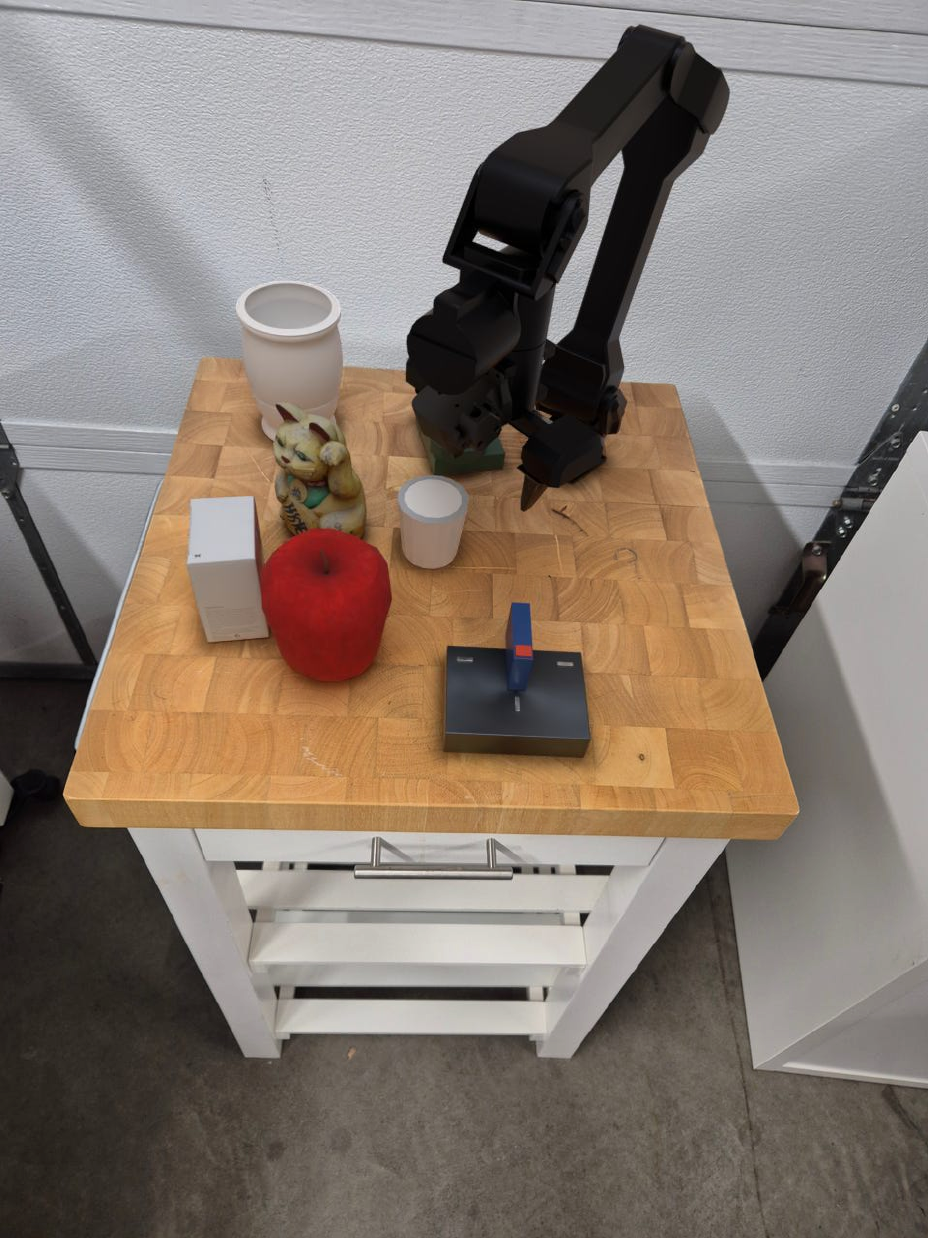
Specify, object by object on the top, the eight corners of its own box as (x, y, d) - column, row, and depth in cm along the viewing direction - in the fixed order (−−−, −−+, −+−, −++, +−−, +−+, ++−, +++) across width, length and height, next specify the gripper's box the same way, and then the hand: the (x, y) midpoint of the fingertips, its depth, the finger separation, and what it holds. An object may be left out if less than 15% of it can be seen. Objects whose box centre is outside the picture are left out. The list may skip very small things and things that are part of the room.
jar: (363, 421, 95) (361, 302, 84) (306, 468, 89) (296, 346, 78) (292, 387, 98) (281, 268, 87) (233, 429, 92) (212, 307, 81)
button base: (413, 420, 96) (414, 392, 93) (480, 414, 98) (483, 386, 95) (433, 482, 90) (435, 454, 86) (505, 475, 91) (509, 447, 88)
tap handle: (505, 634, 73) (511, 600, 69) (522, 635, 73) (530, 601, 69) (507, 689, 69) (514, 656, 66) (525, 690, 69) (533, 657, 66)
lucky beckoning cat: (264, 530, 83) (245, 407, 71) (316, 487, 88) (306, 365, 76) (339, 572, 80) (332, 451, 69) (389, 525, 85) (390, 405, 73)
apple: (272, 708, 70) (254, 606, 59) (271, 616, 76) (254, 509, 66) (395, 697, 71) (398, 596, 61) (384, 608, 78) (385, 503, 67)
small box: (269, 639, 74) (256, 560, 66) (206, 644, 73) (184, 564, 65) (268, 574, 79) (255, 493, 71) (208, 578, 78) (189, 496, 70)
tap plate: (571, 640, 77) (578, 619, 75) (584, 757, 69) (591, 738, 67) (445, 634, 76) (447, 612, 74) (443, 751, 68) (445, 732, 66)
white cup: (455, 579, 81) (461, 529, 75) (388, 565, 81) (389, 514, 76) (469, 532, 85) (475, 481, 80) (405, 519, 86) (407, 467, 80)
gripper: (354, 310, 64) (359, 464, 76) (524, 431, 56) (499, 582, 68) (458, 268, 69) (447, 419, 81) (627, 373, 61) (587, 523, 73)
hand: (490, 482), depth 76 cm, fingers open, 9 cm apart
